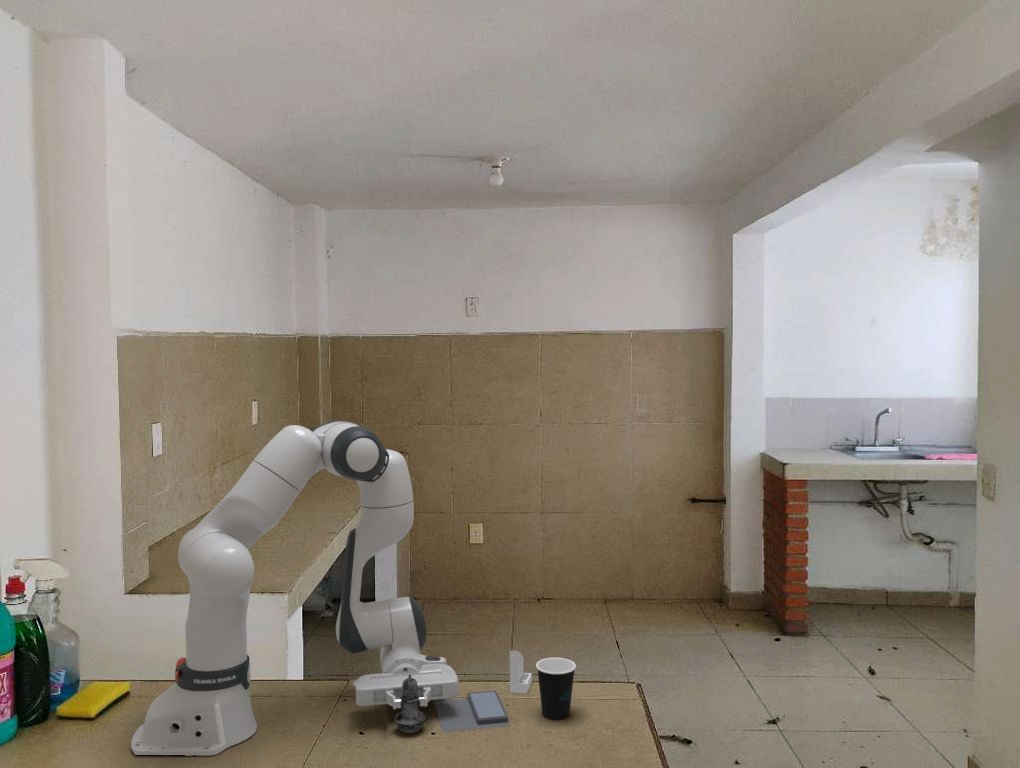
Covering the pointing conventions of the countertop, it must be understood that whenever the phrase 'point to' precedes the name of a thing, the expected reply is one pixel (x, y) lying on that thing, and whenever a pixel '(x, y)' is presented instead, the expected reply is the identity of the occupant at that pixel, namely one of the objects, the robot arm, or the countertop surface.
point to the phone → (487, 707)
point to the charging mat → (459, 716)
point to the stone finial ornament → (410, 708)
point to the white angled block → (518, 674)
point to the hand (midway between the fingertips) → (410, 704)
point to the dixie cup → (555, 686)
